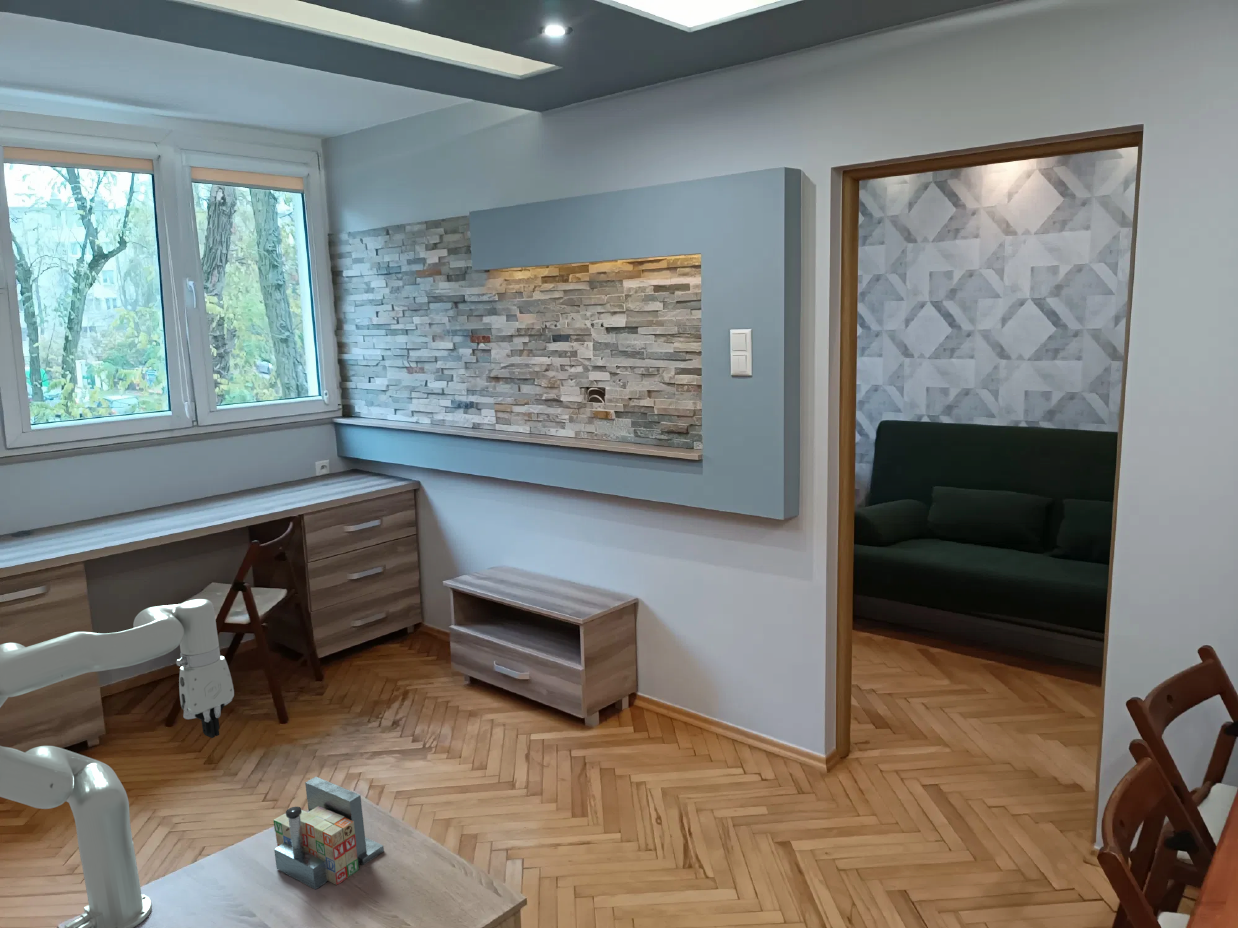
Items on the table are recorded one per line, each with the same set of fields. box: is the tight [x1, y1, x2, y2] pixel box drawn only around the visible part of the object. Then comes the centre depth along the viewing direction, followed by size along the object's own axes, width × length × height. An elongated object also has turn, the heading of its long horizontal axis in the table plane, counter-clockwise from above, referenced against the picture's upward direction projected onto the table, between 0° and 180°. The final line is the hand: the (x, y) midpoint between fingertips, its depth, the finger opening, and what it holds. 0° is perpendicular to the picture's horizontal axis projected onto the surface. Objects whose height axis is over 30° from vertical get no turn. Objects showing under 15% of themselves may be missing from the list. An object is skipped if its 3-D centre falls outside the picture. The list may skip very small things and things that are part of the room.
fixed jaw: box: [304, 776, 385, 866], centre depth 206 cm, size 8×18×16 cm, turn 55°
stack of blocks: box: [273, 806, 359, 886], centre depth 201 cm, size 21×6×12 cm, turn 56°
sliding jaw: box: [273, 806, 329, 890], centre depth 196 cm, size 4×14×16 cm, turn 55°
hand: (212, 734), depth 195 cm, fingers closed
